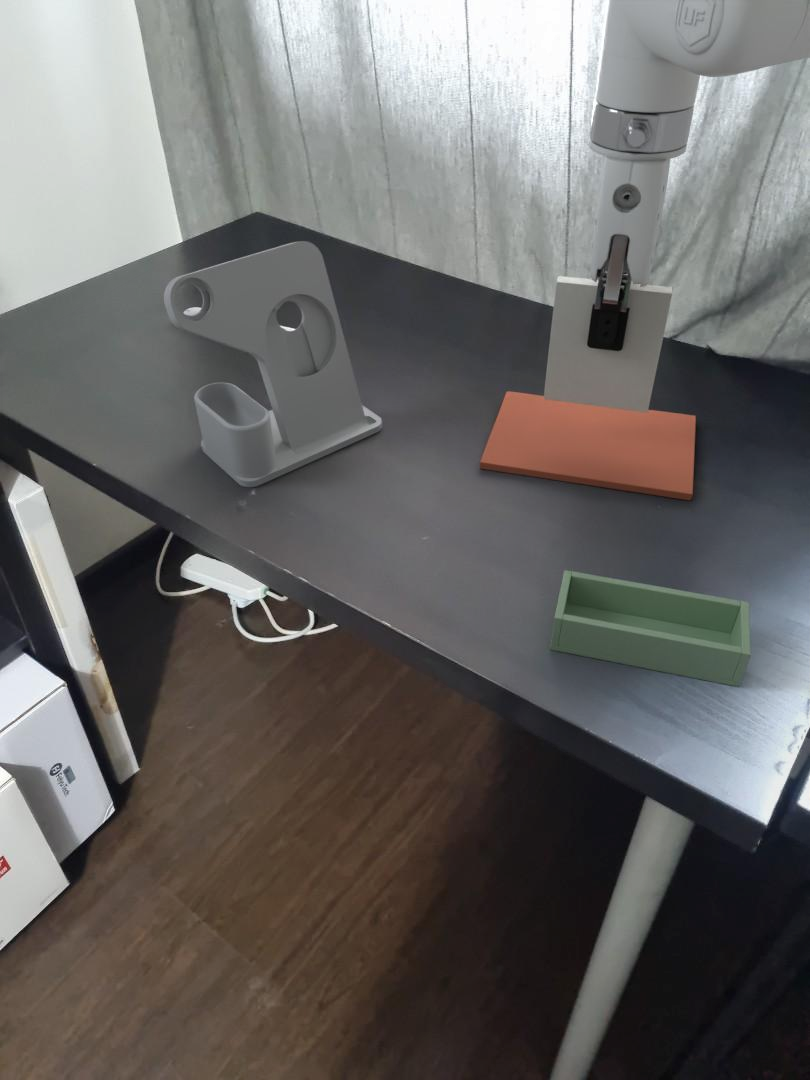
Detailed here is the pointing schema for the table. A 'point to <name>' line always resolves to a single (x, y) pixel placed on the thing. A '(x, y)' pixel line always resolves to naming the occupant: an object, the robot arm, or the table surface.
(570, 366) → the board
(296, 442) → the phone holder
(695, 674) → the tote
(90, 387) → the table surface
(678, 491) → the mat
